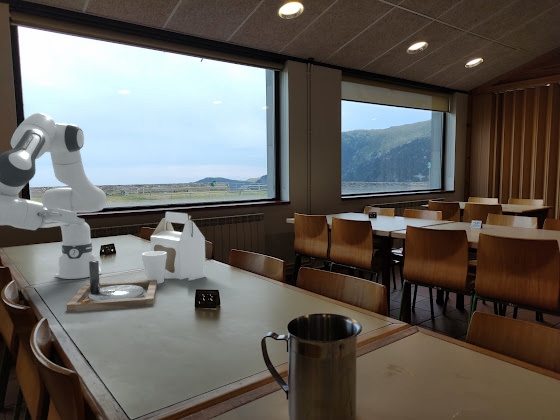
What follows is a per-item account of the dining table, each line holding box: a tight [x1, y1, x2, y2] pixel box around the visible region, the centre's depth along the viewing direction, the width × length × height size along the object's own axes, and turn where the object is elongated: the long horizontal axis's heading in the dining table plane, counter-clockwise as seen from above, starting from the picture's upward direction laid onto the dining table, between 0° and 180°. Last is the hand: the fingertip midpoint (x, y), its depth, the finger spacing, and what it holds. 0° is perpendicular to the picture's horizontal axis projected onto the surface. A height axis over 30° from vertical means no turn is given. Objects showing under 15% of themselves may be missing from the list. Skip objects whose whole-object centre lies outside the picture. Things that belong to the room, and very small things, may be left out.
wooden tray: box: [65, 279, 158, 313], centre depth 144 cm, size 26×26×4 cm
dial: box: [87, 260, 145, 301], centre depth 143 cm, size 18×18×13 cm
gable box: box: [150, 211, 207, 281], centre depth 180 cm, size 22×13×28 cm, turn 49°
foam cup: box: [141, 251, 167, 285], centre depth 165 cm, size 10×9×13 cm
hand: (76, 223), depth 136 cm, fingers open, 8 cm apart
